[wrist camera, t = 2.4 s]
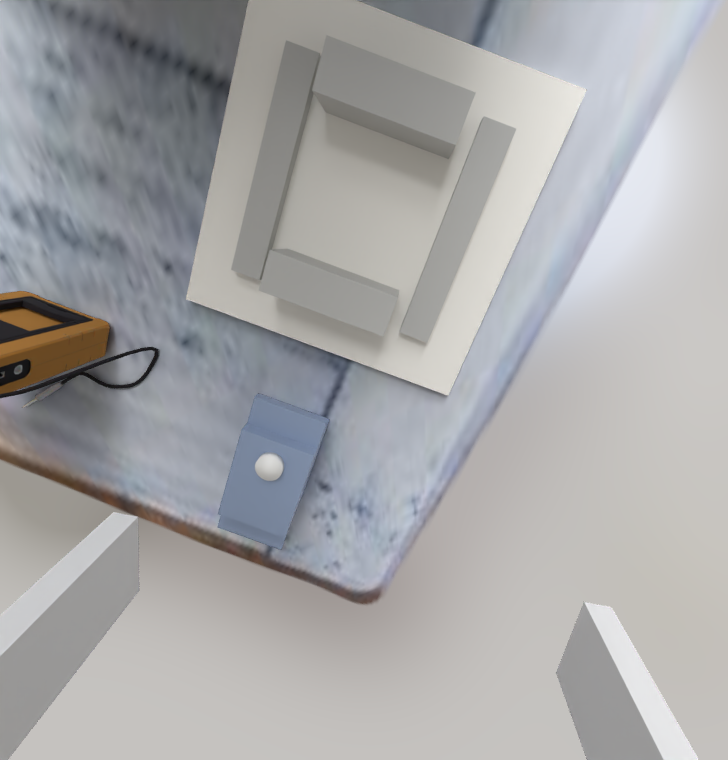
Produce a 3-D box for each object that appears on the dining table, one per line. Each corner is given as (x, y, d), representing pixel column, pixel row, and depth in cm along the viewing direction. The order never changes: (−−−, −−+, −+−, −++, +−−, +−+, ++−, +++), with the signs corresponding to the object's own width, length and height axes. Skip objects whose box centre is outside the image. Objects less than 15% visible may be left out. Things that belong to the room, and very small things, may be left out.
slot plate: (192, 297, 31) (154, 307, 27) (262, -28, 25) (228, -91, 20) (446, 391, 32) (454, 417, 27) (580, 95, 25) (620, 61, 21)
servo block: (241, 489, 36) (207, 541, 30) (276, 374, 33) (246, 406, 26) (297, 509, 36) (274, 565, 30) (337, 397, 33) (321, 433, 27)
